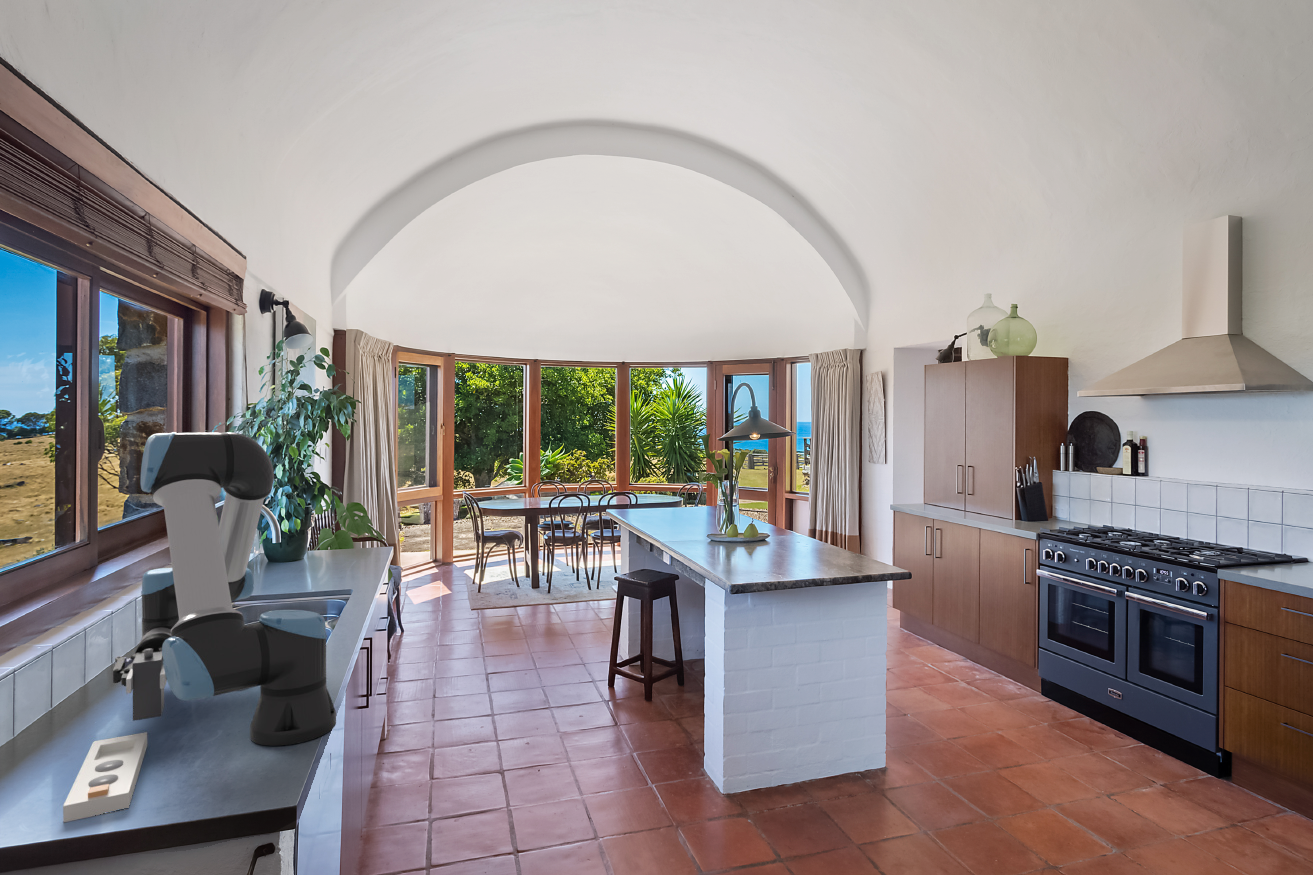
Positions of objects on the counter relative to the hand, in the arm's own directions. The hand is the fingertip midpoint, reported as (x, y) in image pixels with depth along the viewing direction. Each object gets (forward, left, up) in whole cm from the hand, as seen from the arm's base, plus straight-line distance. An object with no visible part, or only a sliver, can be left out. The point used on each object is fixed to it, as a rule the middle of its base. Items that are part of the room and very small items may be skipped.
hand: (145, 683), depth 137 cm
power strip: (-11, +11, -11) cm, 19 cm away
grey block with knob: (+5, -3, -7) cm, 9 cm away
